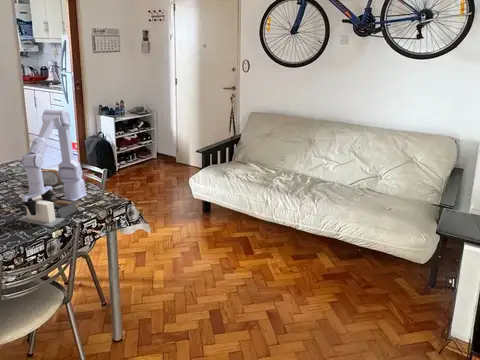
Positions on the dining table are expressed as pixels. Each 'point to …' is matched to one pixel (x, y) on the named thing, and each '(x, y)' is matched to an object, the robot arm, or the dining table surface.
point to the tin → (50, 177)
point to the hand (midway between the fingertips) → (40, 211)
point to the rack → (65, 210)
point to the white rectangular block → (43, 211)
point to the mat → (42, 221)
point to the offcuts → (63, 203)
